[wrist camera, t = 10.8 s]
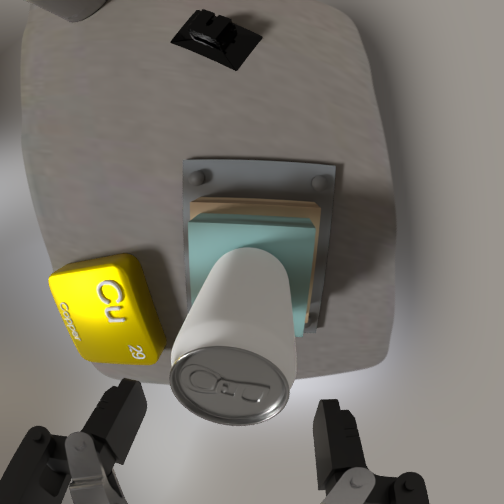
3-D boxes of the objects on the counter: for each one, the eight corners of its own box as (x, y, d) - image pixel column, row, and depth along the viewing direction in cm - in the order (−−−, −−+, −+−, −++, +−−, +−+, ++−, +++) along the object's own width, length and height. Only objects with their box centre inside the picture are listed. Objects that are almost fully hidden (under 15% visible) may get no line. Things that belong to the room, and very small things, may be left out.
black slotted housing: (279, 40, 24) (280, 23, 20) (243, 86, 26) (239, 74, 22) (192, 4, 23) (182, -13, 18) (158, 46, 25) (143, 33, 21)
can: (220, 235, 22) (166, 319, 10) (299, 258, 22) (322, 360, 10) (203, 304, 24) (157, 410, 13) (275, 324, 24) (272, 439, 13)
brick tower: (185, 159, 29) (152, 160, 20) (333, 165, 28) (358, 167, 19) (191, 320, 35) (169, 364, 27) (314, 328, 34) (324, 375, 26)
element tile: (61, 264, 35) (41, 276, 30) (138, 249, 33) (120, 262, 28) (95, 347, 39) (81, 363, 35) (171, 347, 37) (160, 368, 33)
